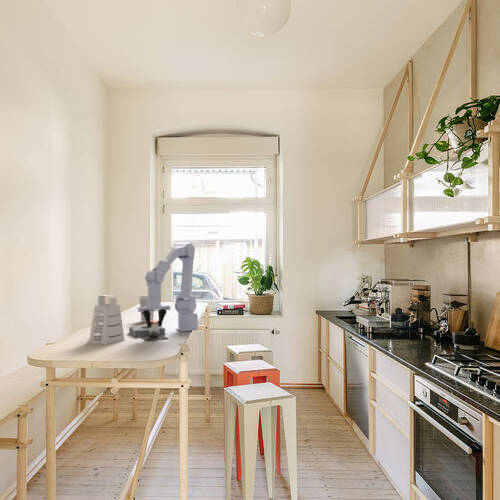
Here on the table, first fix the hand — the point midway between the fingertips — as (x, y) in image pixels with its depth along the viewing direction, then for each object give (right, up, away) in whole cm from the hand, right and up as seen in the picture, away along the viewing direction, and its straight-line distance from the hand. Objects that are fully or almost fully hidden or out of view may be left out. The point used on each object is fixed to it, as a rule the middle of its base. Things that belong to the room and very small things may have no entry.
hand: (154, 326), depth 191 cm
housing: (-6, -5, +10) cm, 13 cm away
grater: (-19, -5, -6) cm, 21 cm away
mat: (0, -5, 0) cm, 5 cm away
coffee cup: (-15, -6, +49) cm, 51 cm away
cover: (0, -5, +1) cm, 5 cm away
